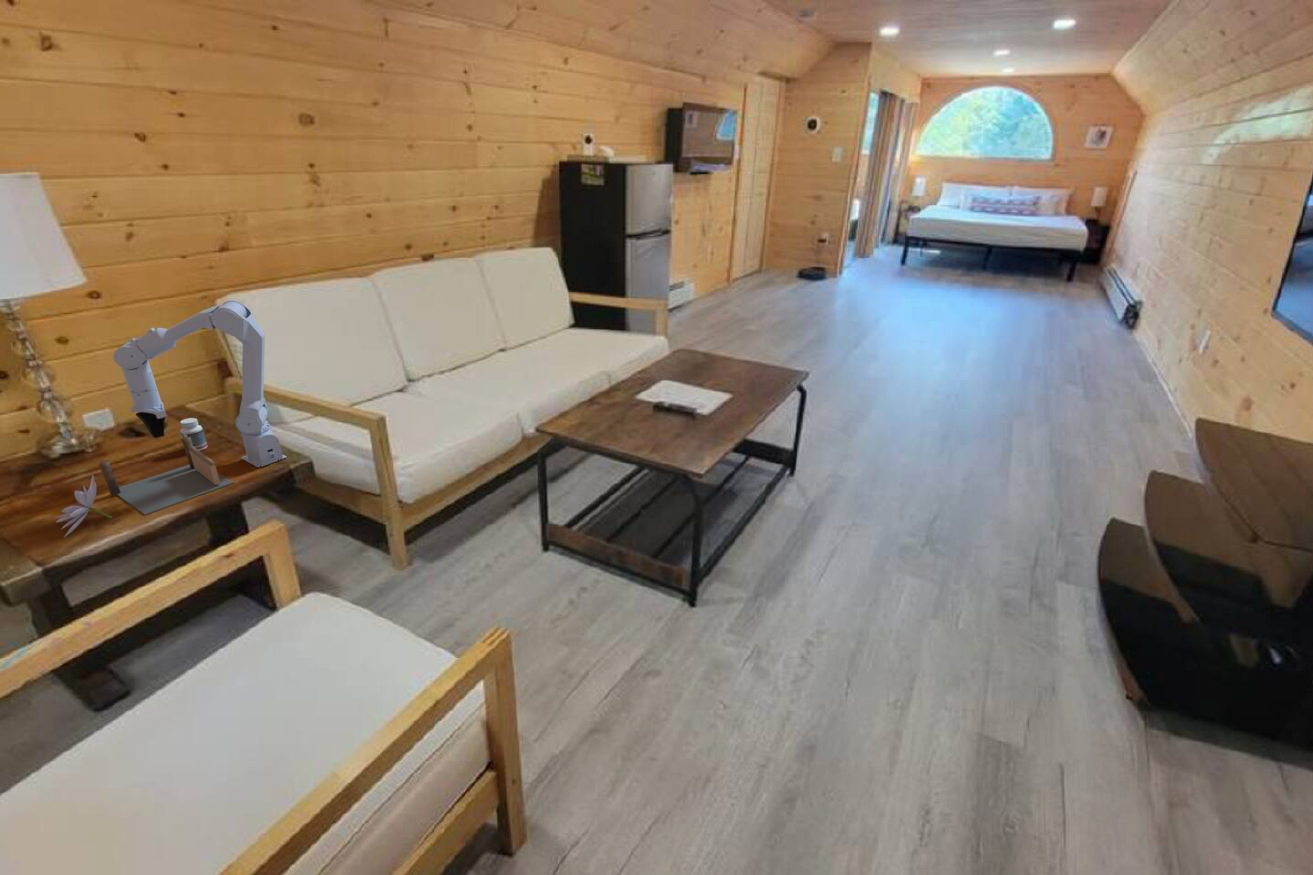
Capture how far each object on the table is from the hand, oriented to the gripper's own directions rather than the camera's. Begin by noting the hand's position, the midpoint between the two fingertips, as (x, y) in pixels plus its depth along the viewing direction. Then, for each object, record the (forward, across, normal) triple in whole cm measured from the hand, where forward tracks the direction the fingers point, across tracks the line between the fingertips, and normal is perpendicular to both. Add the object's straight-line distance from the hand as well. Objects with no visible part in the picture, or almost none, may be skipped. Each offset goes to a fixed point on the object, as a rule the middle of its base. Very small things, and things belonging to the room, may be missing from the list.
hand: (158, 436), depth 169 cm
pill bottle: (+10, -7, +10) cm, 16 cm away
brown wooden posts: (+9, +6, -5) cm, 12 cm away
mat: (+9, +13, -4) cm, 17 cm away
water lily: (+10, +16, -23) cm, 30 cm away
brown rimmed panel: (+9, +15, +3) cm, 18 cm away
